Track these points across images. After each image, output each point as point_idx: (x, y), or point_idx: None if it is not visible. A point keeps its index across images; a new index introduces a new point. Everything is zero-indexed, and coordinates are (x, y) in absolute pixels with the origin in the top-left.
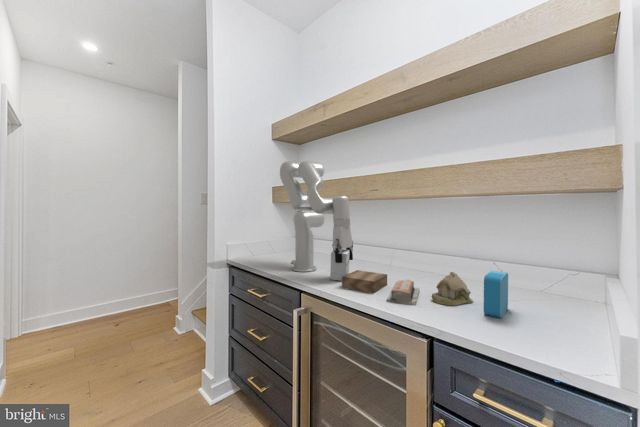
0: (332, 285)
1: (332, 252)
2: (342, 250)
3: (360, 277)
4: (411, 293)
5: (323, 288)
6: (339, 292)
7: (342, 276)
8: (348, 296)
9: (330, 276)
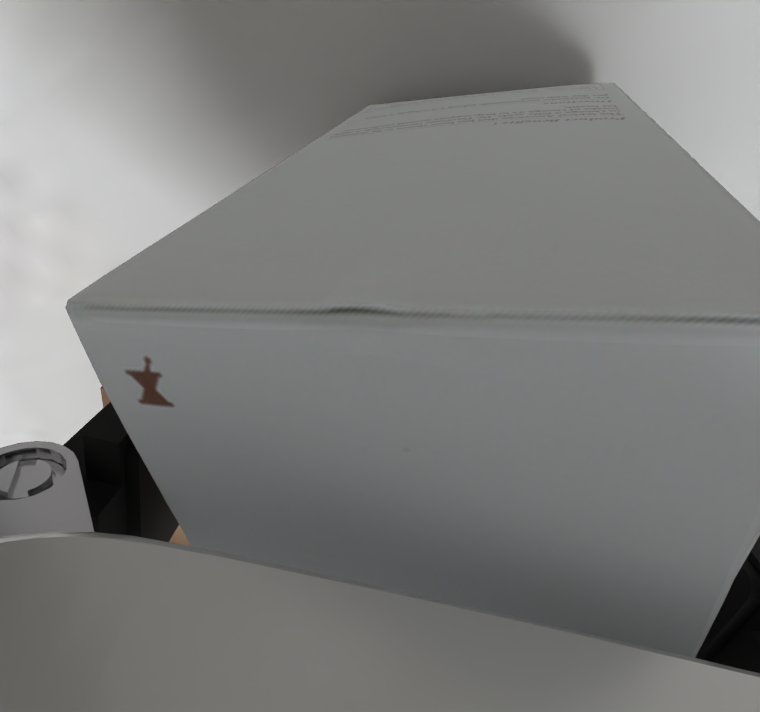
0: (174, 216)
1: (112, 354)
2: (511, 607)
3: (181, 531)
4: None
5: (21, 160)
6: (38, 338)
7: (101, 393)
8: (14, 412)
9: (355, 115)
